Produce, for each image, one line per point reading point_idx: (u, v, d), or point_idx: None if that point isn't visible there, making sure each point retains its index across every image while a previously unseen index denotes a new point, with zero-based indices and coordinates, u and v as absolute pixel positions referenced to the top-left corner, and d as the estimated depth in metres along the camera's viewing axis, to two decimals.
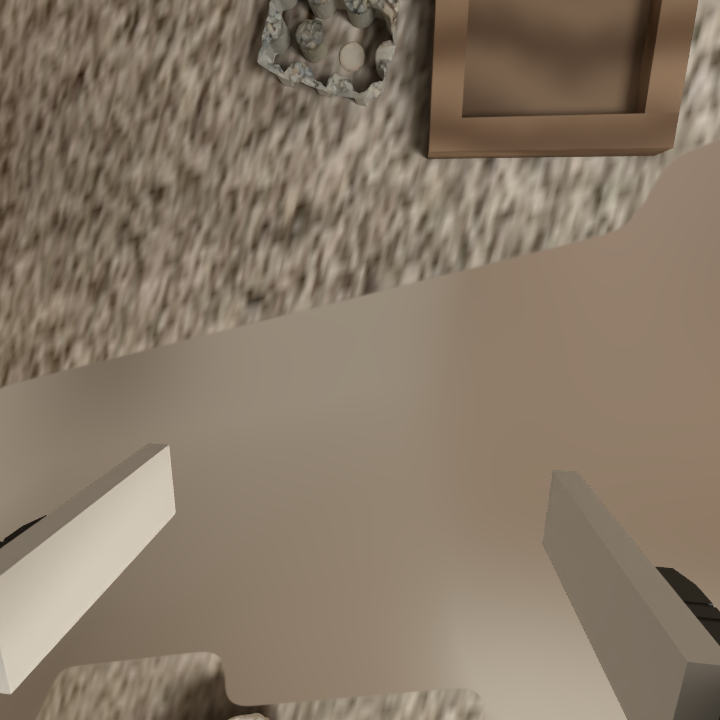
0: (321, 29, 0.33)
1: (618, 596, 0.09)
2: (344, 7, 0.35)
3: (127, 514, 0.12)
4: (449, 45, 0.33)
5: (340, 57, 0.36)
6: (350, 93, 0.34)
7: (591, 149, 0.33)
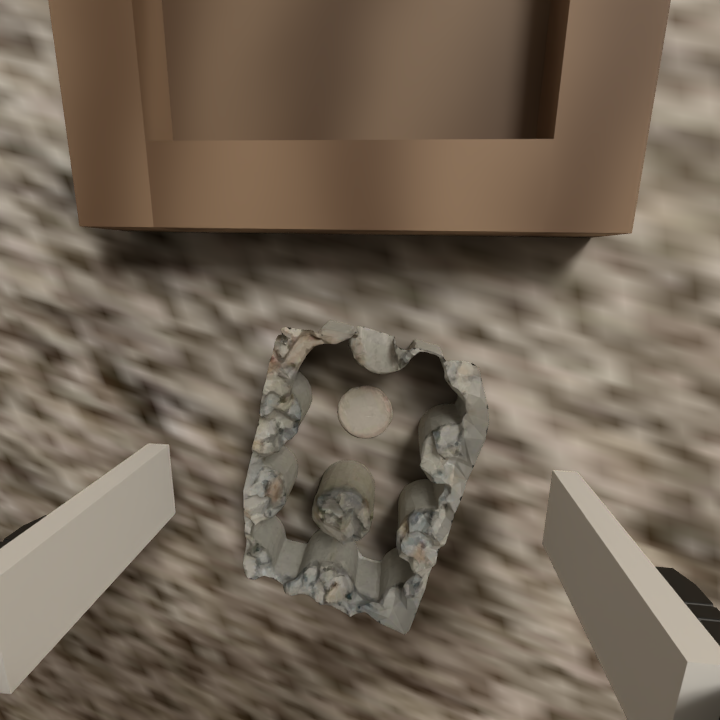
0: (335, 495, 0.15)
1: (618, 596, 0.09)
2: None
3: (127, 514, 0.12)
4: (369, 187, 0.12)
5: (366, 436, 0.17)
6: (473, 437, 0.14)
7: None
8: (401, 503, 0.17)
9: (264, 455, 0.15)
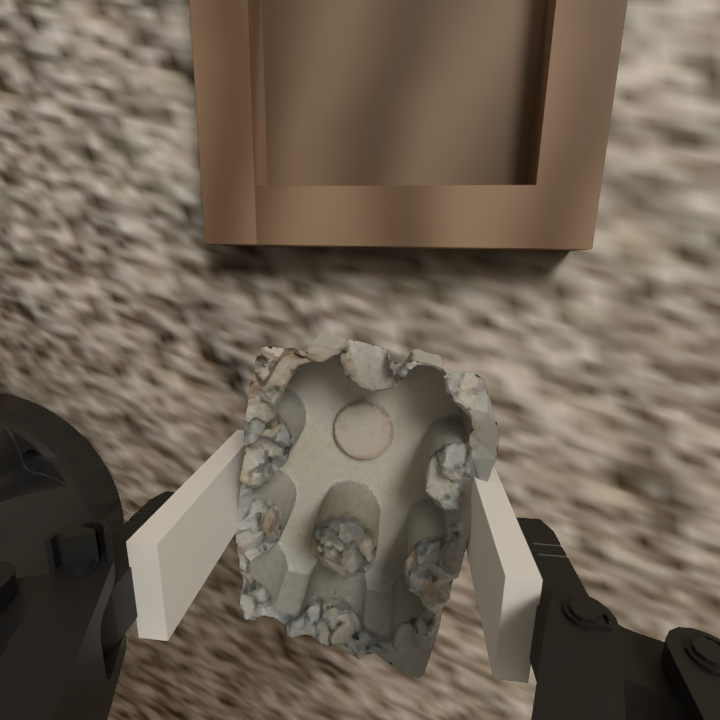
0: (334, 527, 0.13)
1: (484, 539, 0.11)
2: None
3: (232, 492, 0.14)
4: (407, 217, 0.18)
5: (366, 457, 0.16)
6: (483, 457, 0.12)
7: None
8: (409, 529, 0.15)
9: (253, 486, 0.13)
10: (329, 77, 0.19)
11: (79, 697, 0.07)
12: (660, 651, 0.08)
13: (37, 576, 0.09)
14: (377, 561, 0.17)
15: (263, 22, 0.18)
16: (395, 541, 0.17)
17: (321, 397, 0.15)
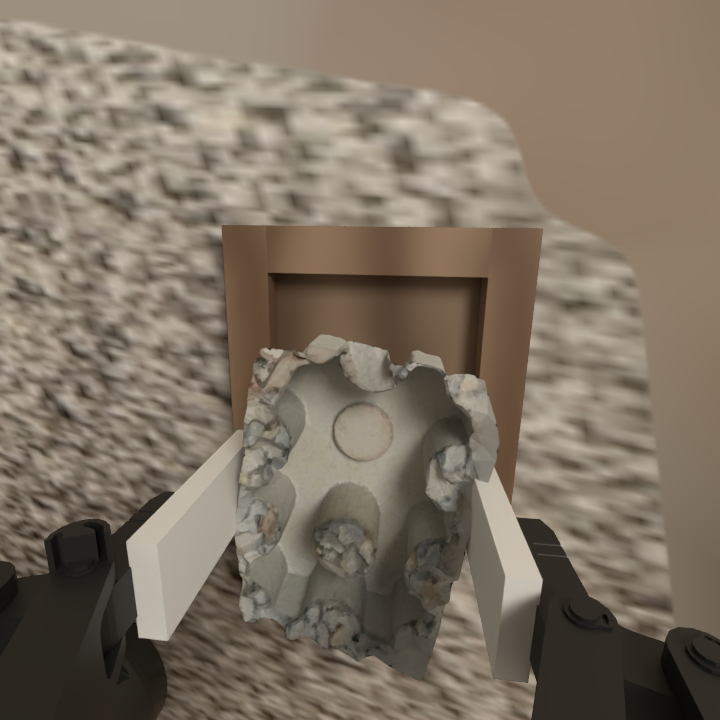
0: (334, 529, 0.13)
1: (484, 539, 0.11)
2: None
3: (232, 492, 0.14)
4: None
5: (366, 459, 0.15)
6: (483, 458, 0.12)
7: (528, 344, 0.23)
8: (409, 531, 0.15)
9: (253, 488, 0.13)
10: None
11: (79, 697, 0.07)
12: (660, 651, 0.08)
13: (37, 576, 0.09)
14: (377, 562, 0.17)
15: None
16: (395, 542, 0.16)
17: (320, 399, 0.15)
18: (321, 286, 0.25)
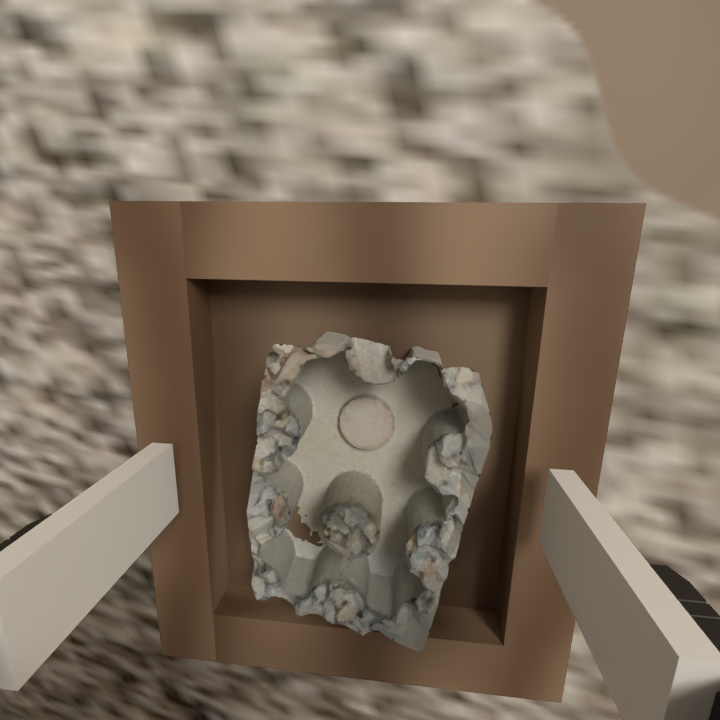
0: (340, 512, 0.14)
1: (612, 593, 0.09)
2: None
3: (131, 513, 0.12)
4: (372, 657, 0.17)
5: (369, 448, 0.16)
6: (477, 445, 0.13)
7: None
8: (409, 515, 0.16)
9: (265, 474, 0.14)
10: None
11: None
12: None
13: None
14: (380, 546, 0.18)
15: (220, 442, 0.18)
16: (396, 527, 0.18)
17: (327, 392, 0.16)
18: (277, 299, 0.16)
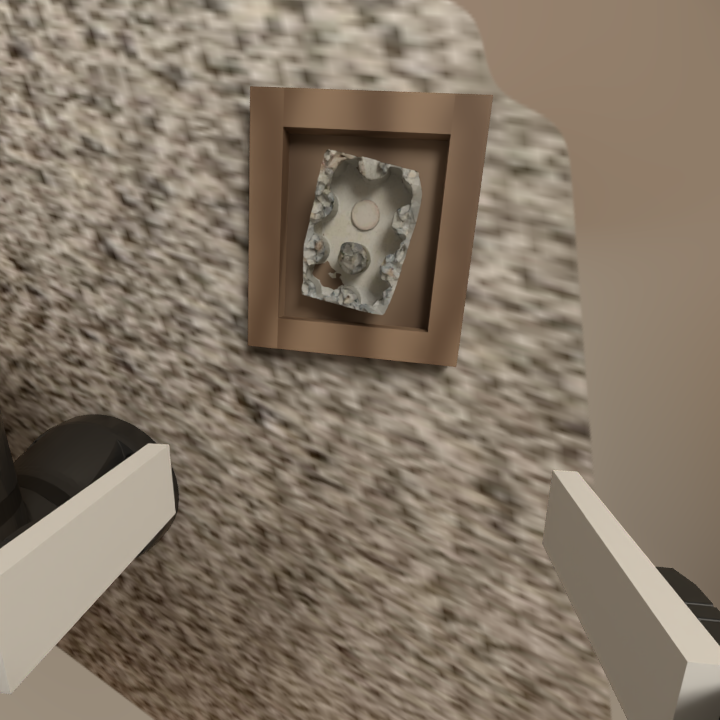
0: (349, 242, 0.30)
1: (618, 596, 0.09)
2: (320, 225, 0.32)
3: (127, 514, 0.12)
4: (360, 342, 0.33)
5: (366, 228, 0.32)
6: (415, 205, 0.29)
7: (479, 191, 0.29)
8: None
9: (315, 221, 0.30)
10: None
11: None
12: None
13: None
14: (367, 289, 0.34)
15: (287, 228, 0.33)
16: (377, 278, 0.33)
17: (346, 198, 0.32)
18: (324, 146, 0.32)
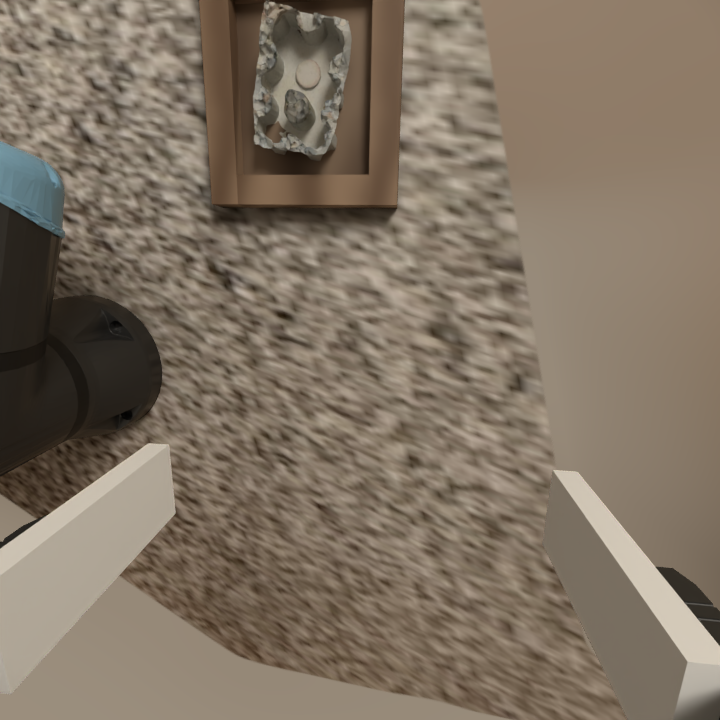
0: (292, 90, 0.34)
1: (618, 596, 0.09)
2: (268, 85, 0.36)
3: (127, 514, 0.12)
4: (311, 190, 0.37)
5: (309, 86, 0.36)
6: (347, 50, 0.33)
7: (402, 36, 0.34)
8: None
9: (261, 72, 0.34)
10: None
11: None
12: None
13: None
14: (314, 145, 0.38)
15: (240, 94, 0.37)
16: (322, 134, 0.37)
17: (290, 59, 0.36)
18: None
